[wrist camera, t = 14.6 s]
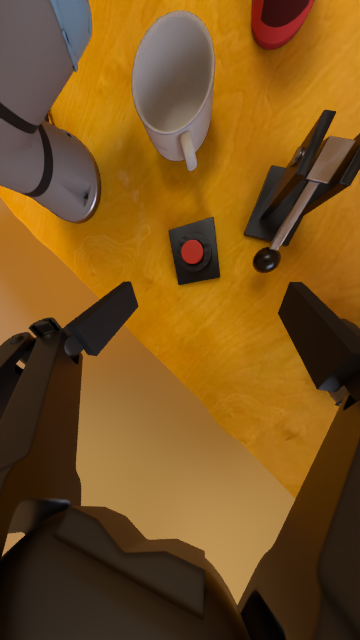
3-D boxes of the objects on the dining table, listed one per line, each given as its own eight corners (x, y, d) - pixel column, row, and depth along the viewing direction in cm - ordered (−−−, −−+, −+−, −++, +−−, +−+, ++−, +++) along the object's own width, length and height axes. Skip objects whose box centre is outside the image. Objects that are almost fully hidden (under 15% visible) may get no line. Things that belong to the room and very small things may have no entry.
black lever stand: (285, 246, 27) (346, 223, 14) (243, 235, 28) (265, 203, 15) (319, 180, 23) (443, 69, 11) (269, 169, 24) (327, 55, 12)
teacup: (149, 104, 25) (122, 34, 18) (212, 72, 22) (211, -26, 15) (163, 198, 29) (144, 173, 22) (218, 181, 26) (218, 146, 19)
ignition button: (181, 244, 28) (179, 242, 26) (202, 239, 27) (201, 236, 25) (185, 266, 29) (183, 265, 27) (205, 261, 28) (204, 260, 26)
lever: (269, 270, 24) (272, 280, 21) (248, 264, 24) (248, 272, 22) (348, 148, 15) (369, 139, 12) (311, 141, 15) (324, 132, 12)
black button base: (170, 232, 31) (165, 227, 28) (213, 219, 28) (213, 212, 25) (180, 284, 34) (176, 285, 30) (219, 277, 31) (220, 277, 28)
